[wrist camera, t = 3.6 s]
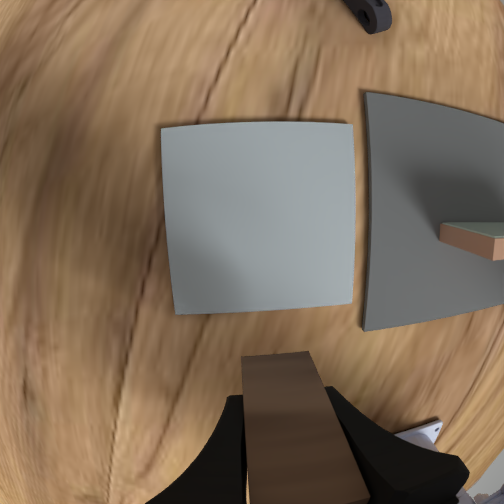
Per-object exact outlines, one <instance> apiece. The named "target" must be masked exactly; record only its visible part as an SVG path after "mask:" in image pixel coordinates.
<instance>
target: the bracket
mask: <svg viewBox="0 0 504 504" xmlns="http://www.w3.org/2000/svg"><path fill="white" fill-rule="evenodd" d="M343 1H344V2H345V3H346V5H347V6H348V7H349V8H350V10H351V11H352V12H353V14H354V15H355V16H356V17H357V19H358V20H359V21H360V23H361V24H362V26H363V27H364V28H365V30H366V31H367V33H368V34H375V33H378V32H382V31H385V30H388V29H389V28H390V26H391V24H392V15H391V11H390V8H389V6H388V4H387V3H386V2H385V1H384V0H343ZM364 11H366V15H367V17H368V19H369V20H370V23H369V22H368V21H367V19H366V18H365V16H364Z"/></svg>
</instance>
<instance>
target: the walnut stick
mask: <svg viewBox="0 0 504 504" xmlns="http://www.w3.org/2000/svg"><path fill="white" fill-rule="evenodd" d="M241 364H242V383H243V402H244V420H245V437H246V453H247V469H248V484H249V498H250V504H367V503H368V501H369V499H370V494H369V492H368V490H367V487H366V485H365V482H364V480H363V478H362V475H361V473H360V470H359V468H358V466H357V463H356V461H355V458H354V456H353V454H352V451H351V449H350V447H349V444H348V442H347V439H346V437H345V435H344V432H343V430H342V428H341V425H340V423H339V421H338V418H337V416H336V414H335V411H334V409H333V407H332V404H331V402H330V400H329V397H328V395H327V393H326V390H325V388H324V386H323V383H322V381H321V379H320V376H319V374H318V372H317V369H316V367H315V365H314V362H313V360H312V358H311V356H310V353H309V351H304V352H295V353H284V354H273V355H260V356H244V357H241Z"/></svg>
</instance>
